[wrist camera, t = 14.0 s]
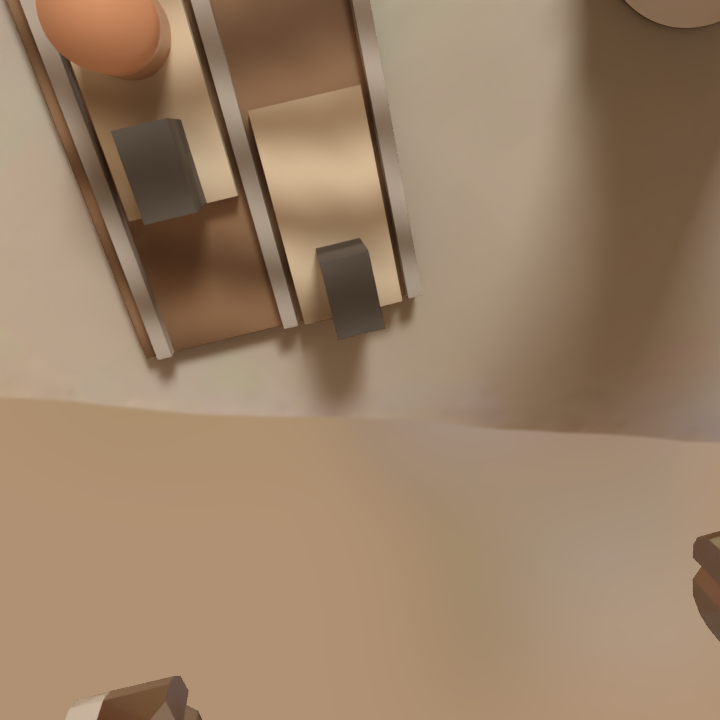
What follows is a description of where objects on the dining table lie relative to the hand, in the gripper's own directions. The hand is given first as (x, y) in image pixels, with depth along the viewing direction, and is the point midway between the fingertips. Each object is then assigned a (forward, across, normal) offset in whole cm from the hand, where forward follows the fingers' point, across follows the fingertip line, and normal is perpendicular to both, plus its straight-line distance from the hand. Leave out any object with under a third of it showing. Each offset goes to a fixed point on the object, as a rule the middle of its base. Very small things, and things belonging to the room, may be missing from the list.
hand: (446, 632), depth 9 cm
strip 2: (+33, -1, -2) cm, 33 cm away
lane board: (+34, +4, -7) cm, 35 cm away
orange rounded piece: (+32, +8, -14) cm, 36 cm away
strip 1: (+33, +8, -11) cm, 36 cm away
